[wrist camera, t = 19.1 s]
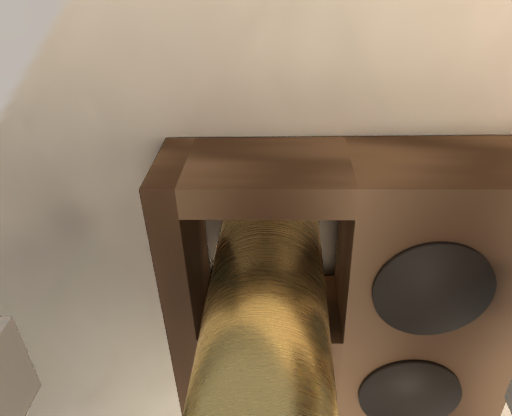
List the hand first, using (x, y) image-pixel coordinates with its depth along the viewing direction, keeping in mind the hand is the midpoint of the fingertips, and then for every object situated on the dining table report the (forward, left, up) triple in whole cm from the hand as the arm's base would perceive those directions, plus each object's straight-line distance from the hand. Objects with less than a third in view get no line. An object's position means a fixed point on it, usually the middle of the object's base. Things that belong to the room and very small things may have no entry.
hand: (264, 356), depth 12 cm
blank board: (+2, -2, -6) cm, 7 cm away
